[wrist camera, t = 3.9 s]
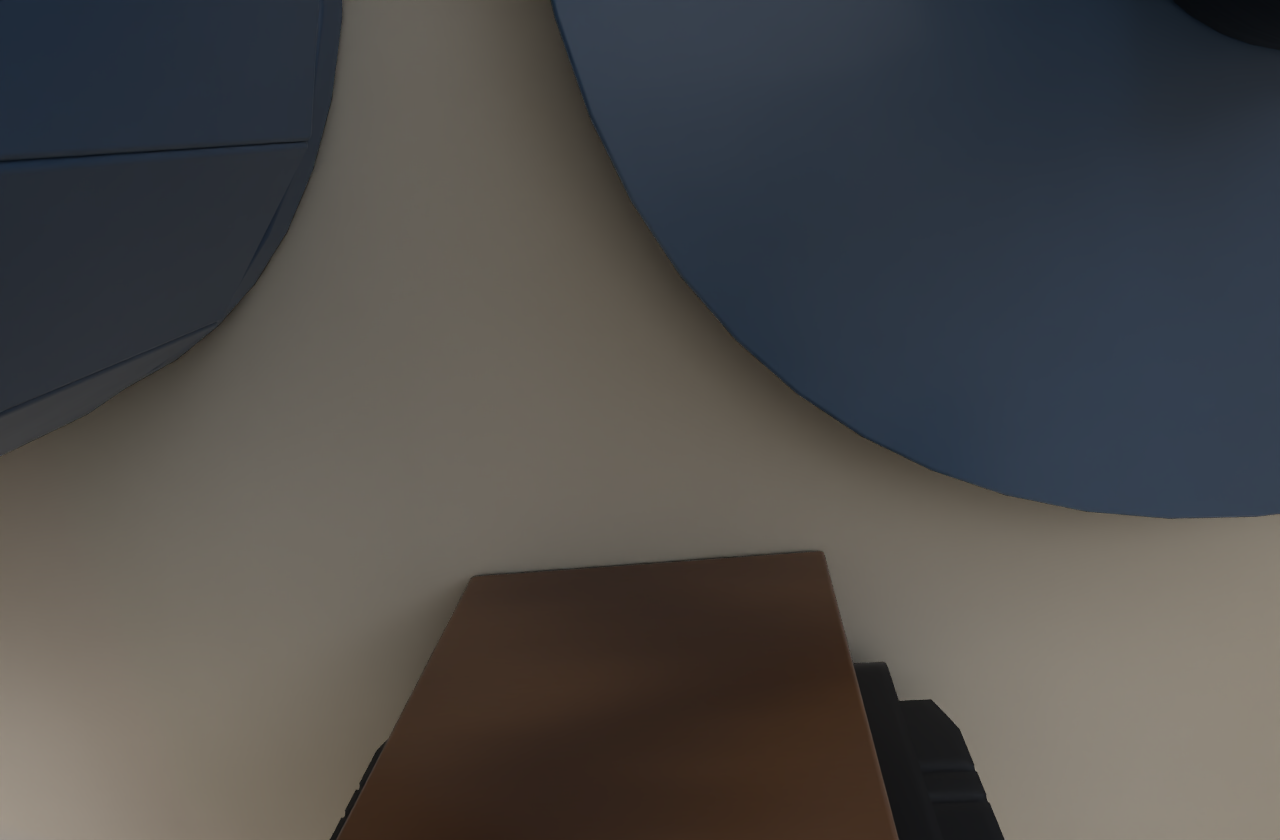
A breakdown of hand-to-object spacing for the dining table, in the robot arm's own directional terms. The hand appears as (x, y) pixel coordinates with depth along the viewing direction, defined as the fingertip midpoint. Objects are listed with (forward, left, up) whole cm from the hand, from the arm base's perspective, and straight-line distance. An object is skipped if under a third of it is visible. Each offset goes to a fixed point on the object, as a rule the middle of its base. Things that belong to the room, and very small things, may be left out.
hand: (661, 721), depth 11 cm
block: (0, 0, 0) cm, 0 cm away
